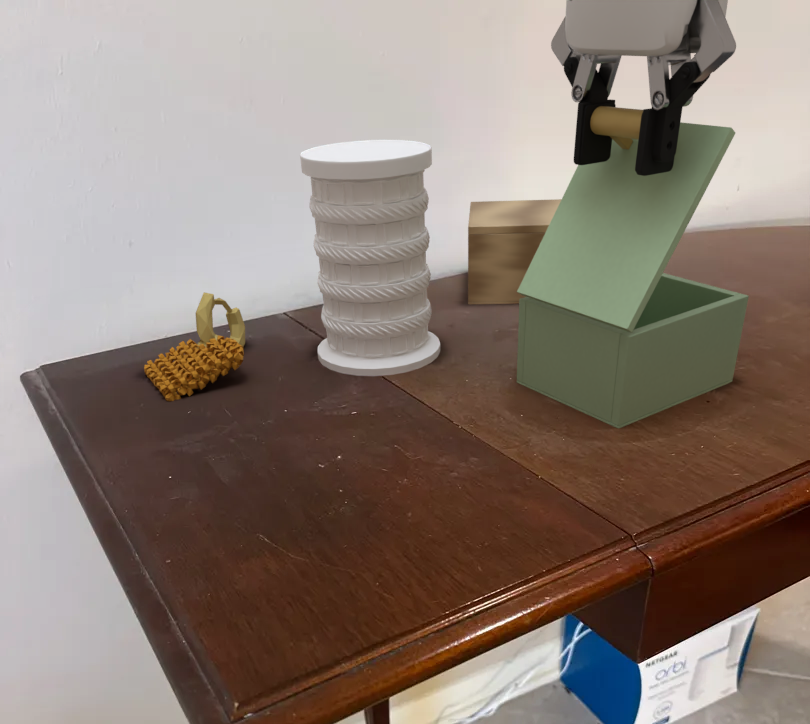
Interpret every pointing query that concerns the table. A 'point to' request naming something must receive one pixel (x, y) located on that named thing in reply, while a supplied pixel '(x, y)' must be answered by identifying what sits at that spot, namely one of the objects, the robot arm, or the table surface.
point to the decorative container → (372, 255)
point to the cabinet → (504, 246)
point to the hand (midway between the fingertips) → (621, 164)
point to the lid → (621, 222)
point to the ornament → (200, 354)
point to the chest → (633, 352)
